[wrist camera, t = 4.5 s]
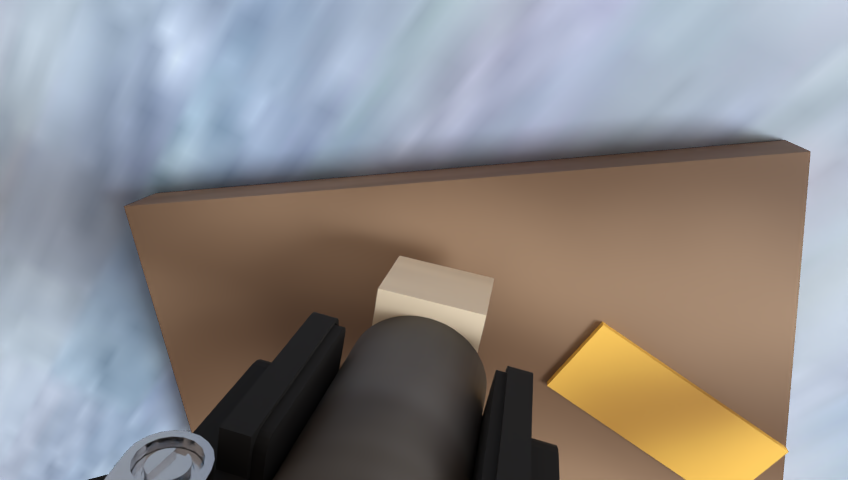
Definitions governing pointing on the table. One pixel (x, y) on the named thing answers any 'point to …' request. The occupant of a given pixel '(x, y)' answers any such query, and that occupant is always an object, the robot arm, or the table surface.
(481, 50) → the table surface
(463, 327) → the lever
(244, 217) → the press board
